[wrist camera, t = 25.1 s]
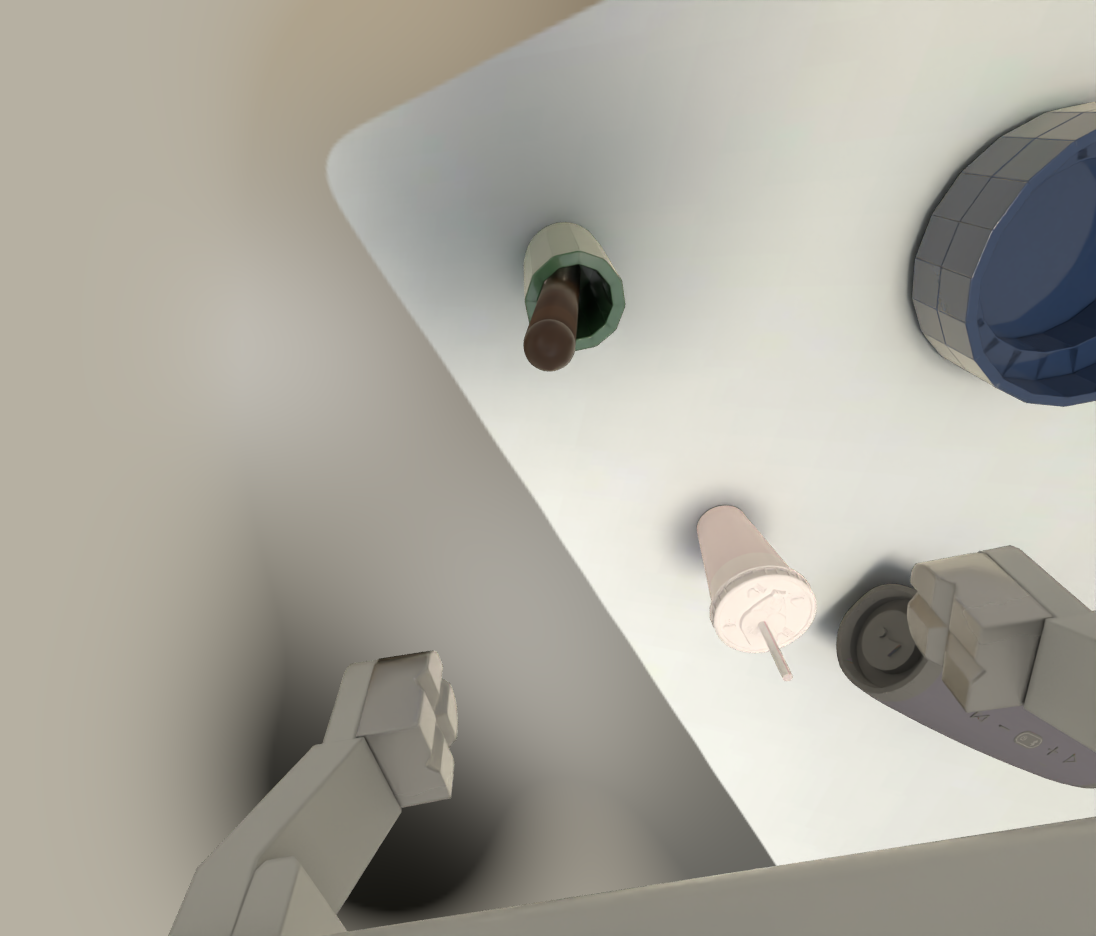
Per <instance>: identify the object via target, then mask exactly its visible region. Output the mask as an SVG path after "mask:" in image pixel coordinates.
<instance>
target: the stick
mask: <svg viewBox="0 0 1096 936" xmlns="http://www.w3.org/2000/svg"><path fill="white" fill-rule="evenodd" d="M580 276H581V268H580V265H579V264H577V265H573V266H568V267H563V268H559V269H558V270H557V271H556V272H554V273H553V274H552V275H551V276H550V277H549V278H548V279H547V280H546V281H544V284H543V287H542V290H541V293H540V295H539V298H538V301H537V304H536V307H535V309H534V312H533V315H532V318H531V321H530V323H529V326H528V329H527V332H526V335H525V338H524V352H525V355H526V357H527V359H528V361H529V362H530V363H531V364H532V365H533V366H534V367H536V368H538V369H540V370H543V371H556V370H559V369H561V368H563V367H565V366H566V365H567V364H568V363H569V362H570V361H571V359H572V357H573V355H574V352H575V346H576V332H577V318H578V304H579V290H580Z"/></svg>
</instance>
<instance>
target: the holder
mask: <svg viewBox="0 0 1096 936" xmlns="http://www.w3.org/2000/svg"><path fill="white" fill-rule="evenodd" d="M577 264H579V265H580V268H581V276H580V290H579V304H578V318H577V332H576V346H575V351H577V350H582V349H587V348H592V347H595V346H597V345H599V344H600V343H601V342H602V341H603V340H605V339H606V338H607V337H608V336H609V335H611V334H612V333H613V332H614V331H615V330H616V329H617V326H618V324H619V321H620V319H621V316H622V314H623V311H624V308H625V298H624V291H623V284H622V280H621V278H620V276H619V275H618V273H617V271H616V270H615V268H614V266H613V265H612V263H611V261H610V260H609V258H608V257H607V255H606V253H605V252H604V250H603V248H602V247H601V245H600V244H599V243H598V242H597V240H596V239H595V238H594V236H593V235H592V234H591V233H590V232H589V231H588V230H587V229H585V228H583V227H582V226H580V225H577V224H574V223H569V222H559V223H554V224H551V225H549V226H546V227H545V228H543V229H542V230H540V231H539V232H538V233H537V234H536V235H535V236H534V237H533V239H532V240H531V241H530V243H529V245H528V248H527V250H526V254H525V259H524V264H523V267H524V297H525V306H526V310H527V315H528V319H529V323H530V321H531V318H532V315H533V312H534V309H535V307H536V304H537V301H538V298H539V295H540V293H541V290H542V287H543V284H544V281H546V280H547V279H548V278H549V277H550V276H551V275H552V274H553V273H554V272H556V271H557V270H558V269H559V268H563V267H568V266H573V265H577Z"/></svg>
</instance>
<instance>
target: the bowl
mask: <svg viewBox="0 0 1096 936" xmlns="http://www.w3.org/2000/svg"><path fill="white" fill-rule="evenodd" d="M912 300H913V303H914V307H915V311H916V314H917V318H918V322H919V325H920V329H921V331H922V333H923V334H924V335H925V337H926V338H927V339H928V340H929V342H930V343H931V344H932V345H933V347H934V348H935V349H936V350H937V352H938V353H939V354H940V355H941V356H942V357H944V358H945V359H947V360H949V361H950V362H952V363H954V364H956V365H957V366H959V367H961V368H963V369H964V370H966V371H968V372H969V373H971V374H973V375H975V376H976V377H978V378H980V379H982V380H983V381H985V382H987V383H989V384H990V385H992V386H994V387H995V388H997V389H999V390H1001V391H1003V392H1005V393H1007V394H1009V395H1011V396H1013V397H1015V398H1017V399H1019V400H1021V401H1023V402H1026V403H1031V404H1041V405H1052V406H1062V407H1065V406H1071V405H1076V404H1082V403H1087V402H1092V401H1096V102H1089V103H1085V104H1080V105H1076V106H1071V107H1067V108H1062V109H1057V110H1053V111H1048V112H1047V113H1044V114H1042V115H1040V116H1038V117H1036V118H1034V119H1032V120H1031V121H1029V122H1027V123H1025V124H1023V125H1021V126H1020V127H1018V128H1016V129H1014V130H1012V131H1010V132H1008V133H1007V134H1005V135H1003V136H1001V137H1000V138H998V139H997V140H996V141H995V142H994V143H993V144H992V145H991V146H990V147H988V148H987V149H986V150H985V151H984V152H983V153H982V154H981V155H980V156H978V157H977V158H976V159H975V160H974V161H973V162H972V163H971V164H970V165H969V166H967V167H966V168H965V169H964V170H963V171H962V172H961V173H960V174H959V176H958V177H957V179H956V180H955V182H954V183H953V184H952V186H951V187H950V189H949V190H948V192H947V193H946V194H945V196H944V197H943V199H942V200H941V202H940V203H939V205H938V206H937V207H936V209H935V210H934V212H933V213H932V216H931V218H930V221H929V223H928V226H927V228H926V231H925V234H924V236H923V239H922V242H921V244H920V247H919V249H918V252H917V255H916V258H915V265H914V277H913V290H912Z"/></svg>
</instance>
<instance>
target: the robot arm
mask: <svg viewBox="0 0 1096 936" xmlns="http://www.w3.org/2000/svg"><path fill="white" fill-rule="evenodd" d="M910 583H911V584H912V586H913V587H914V588H915V589H916V590H917V593H916V594H915V595H914V596H913V598H912V599H911V600H910V601H909V602H908V608H907V620H908V625H909V629H910V633H911V635H912V638H913V640H914V642H915V644H916V646H917V647H918V649H919V650H920V651H921V653H922V654H923V656H924V657H925V658H926V659H928V660H930V661H932V662H934V663H935V664H937V665H939V666H941V667H943V672H942V679H941V680H942V681H943V683H944V684H945V685H946V687H947V688H948V689H949V691H950V692H951V693H952V694H953V696H954V697H955V698H956V700H957V701H958V702H959V704H960V705H961V706H962V708H963V709H964V710H965V712H966V713H971V712H979V711H986V710H993V709H1001V708H1008V707H1015V706H1022V705H1024V707H1023V708H1024V709H1025V710H1027V711H1029V712H1030V713H1032V714H1034V715H1035V716H1037V717H1039V718H1040V719H1042V720H1043V721H1045V722H1047V723H1048V724H1050V725H1052V726H1053V727H1055V728H1057V729H1058V730H1060V731H1061V732H1063V733H1065V734H1066V735H1068V736H1070V737H1071V738H1073V739H1075V740H1076V741H1078V742H1079V743H1081V744H1083V745H1084V746H1086V747H1088V748H1089V749H1091V750H1093V751H1094V752H1096V611H1091V610H1090V609H1089V608H1088V607H1086V606H1085V605H1084V604H1083V603H1082V602H1081V601H1079V600H1078V599H1077V598H1076V597H1075V596H1074V595H1072V594H1071V593H1070V592H1069V591H1068V590H1067V589H1066V588H1064V587H1063V586H1062V585H1061V584H1060V583H1059V582H1057V581H1056V580H1055V579H1054V578H1053V577H1052V576H1050V575H1049V574H1048V573H1047V572H1046V571H1045V570H1044V569H1042V568H1041V567H1040V566H1039V565H1038V564H1037V563H1035V562H1034V561H1033V560H1032V559H1031V558H1030V557H1028V556H1027V555H1026V554H1025V553H1024V552H1023V551H1022V550H1020V549H1019V548H1016V547H1014V546H1011V545H1009V546H1004V547H999V548H994V549H989V550H984V551H979V552H977V553H969V554H964V555H959V556H953V557H948V558H943V559H937V560H932V561H927V562H921V563H916V564H915V566H914V567H913V569H912V570H911V578H910ZM442 671H443V664H442V662H441V660H440V657H439V655H438V653H437V652H436V651H426V652H420V653H413V654H407V655H401V656H394V657H388V658H381V659H378V660H373V661H366V662H359V663H352V664H350V666H349V667H348V668H347V669H346V671H345V673H344V676H343V679H342V683H341V686H340V689H339V692H338V696H337V699H336V702H335V705H334V709H333V712H332V715H331V718H330V721H329V725H328V728H327V731H326V734H325V738H324V741H323V744H319V745H314V746H313V747H312V748H311V749H310V750H309V751H308V752H307V753H306V754H305V755H304V757H303V758H302V759H301V760H300V761H299V762H298V763H297V764H296V765H295V766H294V767H293V768H292V769H291V770H290V771H289V772H288V774H286V775H285V777H284V778H283V779H282V780H281V781H280V782H279V783H278V784H277V785H276V786H275V787H274V788H273V789H272V790H271V791H270V792H269V793H268V794H267V795H266V796H265V797H264V798H263V800H262V801H261V802H260V803H259V804H258V805H257V806H256V807H255V808H254V809H253V810H252V811H251V812H250V813H249V814H248V815H247V816H246V817H245V819H243V821H242V822H241V823H240V824H239V825H238V826H237V827H236V828H235V829H234V830H233V831H232V832H231V833H230V834H229V835H228V836H227V837H226V838H225V839H224V841H222V843H221V844H220V845H219V846H218V847H217V848H216V849H215V850H214V851H213V852H212V853H211V854H210V856H208V857H207V858H206V859H205V860H204V861H203V862H202V864H201V865H200V866H199V867H198V868H197V869H196V872H195V874H194V876H193V879H192V881H191V883H190V886H189V888H188V891H187V893H186V895H185V898H184V900H183V902H182V905H181V907H180V909H179V912H178V914H177V916H176V919H175V921H174V923H173V926H172V928H171V930H170V933H169V935H168V936H1096V817H1090V818H1084V819H1077V820H1071V821H1064V822H1058V823H1051V824H1045V825H1038V826H1032V827H1025V828H1019V829H1012V830H1006V831H999V832H993V833H986V834H980V835H973V836H967V837H961V838H954V839H948V840H941V841H935V842H928V843H922V844H915V845H909V846H902V847H896V848H889V849H883V850H876V851H870V852H864V853H857V854H851V855H844V856H838V857H831V858H825V859H818V860H812V861H805V862H799V863H792V864H786V865H779V866H773V867H766V868H760V869H754V870H747V871H741V872H735V873H727V874H721V875H714V876H708V877H701V878H695V879H689V880H681V881H676V882H668V883H662V884H655V885H649V886H643V887H636V888H629V889H623V890H616V891H610V892H603V893H597V894H591V895H584V896H577V897H571V898H564V899H558V900H551V901H545V902H538V903H532V904H525V905H519V906H512V907H506V908H499V909H493V910H486V911H479V912H473V913H467V914H460V915H454V916H447V917H440V918H434V919H427V920H422V921H415V922H409V923H401V924H395V925H388V926H382V927H375V928H369V929H363V930H356V931H349V932H347V930H346V929H345V927H344V926H343V924H342V923H341V922H340V920H339V919H338V917H337V916H336V915H337V913H338V912H339V910H340V908H341V907H342V905H343V904H344V902H345V900H346V899H347V897H348V896H349V894H350V892H351V891H352V889H353V888H354V886H355V884H356V883H357V881H358V880H359V878H360V877H361V875H362V873H363V872H364V870H365V869H366V867H367V866H368V864H369V862H370V861H371V859H372V858H373V856H374V854H375V853H376V851H377V850H378V848H379V846H380V845H381V843H382V842H383V840H384V838H385V837H386V835H387V834H388V832H389V831H390V829H391V827H392V826H393V824H394V823H395V821H396V819H397V818H398V816H399V815H400V813H401V811H402V810H401V808H403V807H408V806H413V805H418V804H423V803H429V802H434V801H439V800H444V799H449V798H451V793H452V783H453V774H454V764H455V762H454V759H453V756H452V754H451V752H450V749H449V748H450V747H451V745H452V744H453V743H454V742H455V740H456V739H457V730H458V715H457V705H456V700H455V696H454V692H453V689H452V687H451V684H450V683H449V682H447V681H445V680H444V679H442Z"/></svg>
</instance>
